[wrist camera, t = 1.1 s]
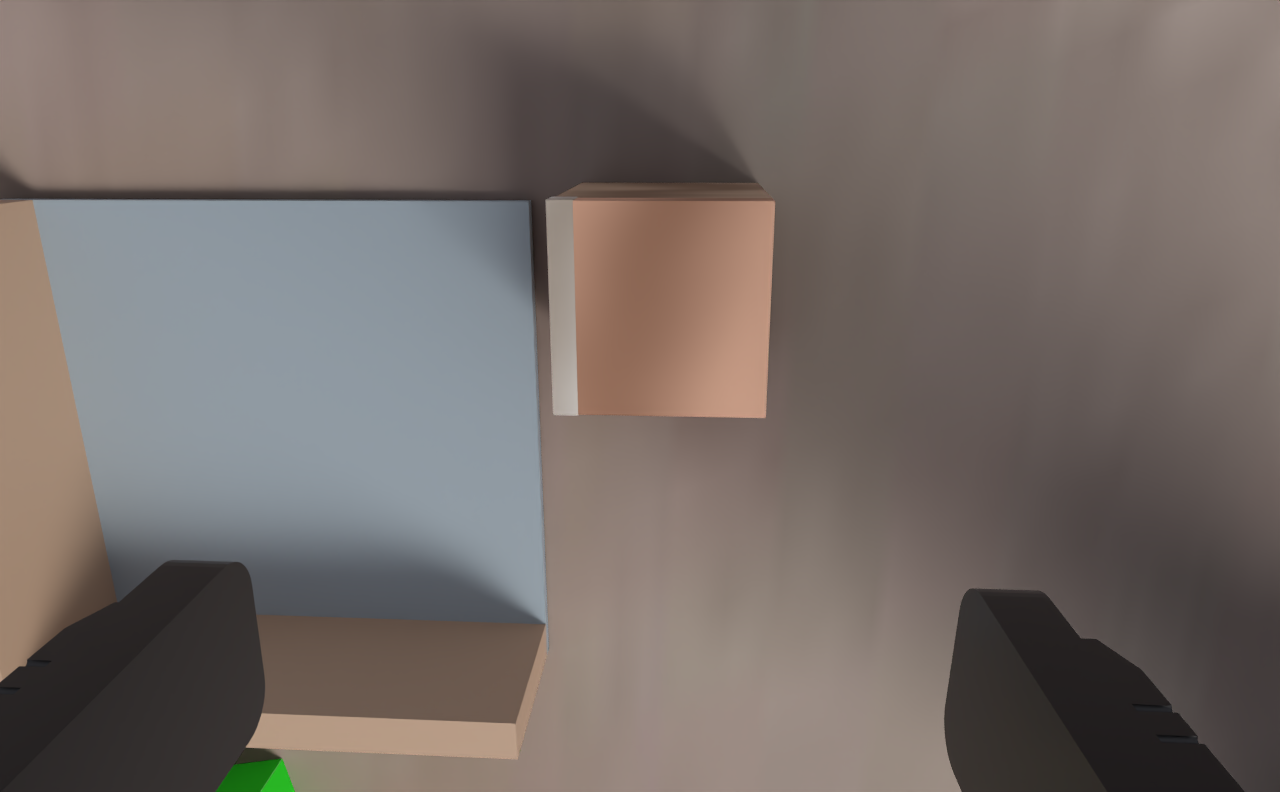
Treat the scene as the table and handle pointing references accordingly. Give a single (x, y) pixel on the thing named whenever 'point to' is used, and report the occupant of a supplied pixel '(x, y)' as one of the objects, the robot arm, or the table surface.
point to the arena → (288, 447)
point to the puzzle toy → (257, 778)
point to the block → (660, 299)
